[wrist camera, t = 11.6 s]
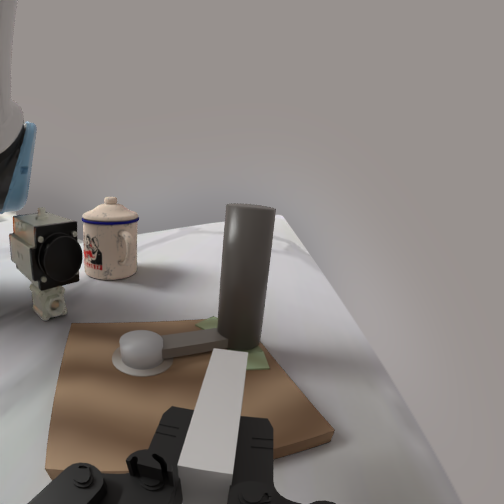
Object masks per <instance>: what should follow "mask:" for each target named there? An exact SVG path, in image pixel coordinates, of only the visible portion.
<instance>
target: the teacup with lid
mask: <svg viewBox="0 0 504 504" xmlns="http://www.w3.org/2000/svg"><path fill="white" fill-rule="evenodd" d="M104 202H105V204H101V205H98V206H97V207H96V208H95V209H93V210H91V211H88V212H86V213H84V214H83V217H82V221H83V236H84V237H83V239H84V265H85V272H86V274H87V275H88V276H90V277H92V278H96V279H102V280H117V279H123V278H127V277H130V276H132V275H133V274H134V273H135V272H136V271H137V221H138V220H139V217H138V214H137V213H136V212H134V211H130V210H128V209H127V208H125V207H124V206H123V205H120V204H116V203H117V198H116V197H106V198H105V199H104Z"/></svg>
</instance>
